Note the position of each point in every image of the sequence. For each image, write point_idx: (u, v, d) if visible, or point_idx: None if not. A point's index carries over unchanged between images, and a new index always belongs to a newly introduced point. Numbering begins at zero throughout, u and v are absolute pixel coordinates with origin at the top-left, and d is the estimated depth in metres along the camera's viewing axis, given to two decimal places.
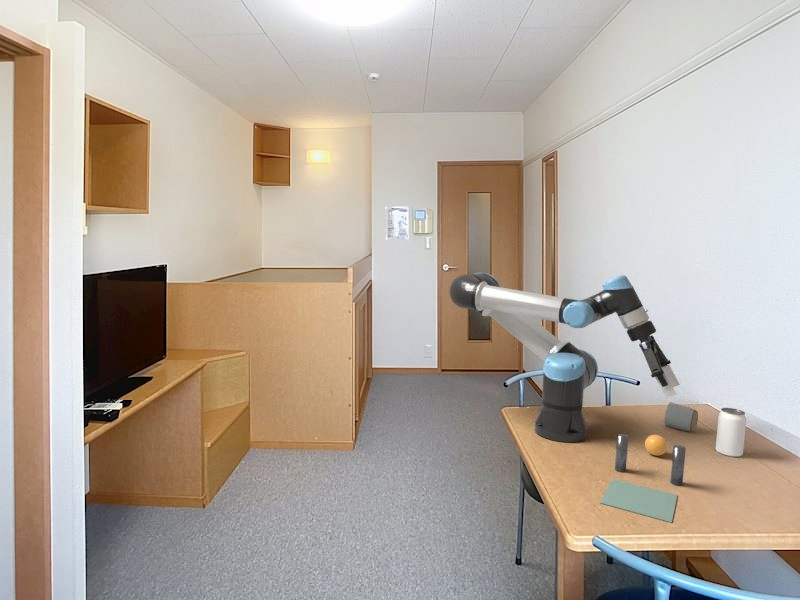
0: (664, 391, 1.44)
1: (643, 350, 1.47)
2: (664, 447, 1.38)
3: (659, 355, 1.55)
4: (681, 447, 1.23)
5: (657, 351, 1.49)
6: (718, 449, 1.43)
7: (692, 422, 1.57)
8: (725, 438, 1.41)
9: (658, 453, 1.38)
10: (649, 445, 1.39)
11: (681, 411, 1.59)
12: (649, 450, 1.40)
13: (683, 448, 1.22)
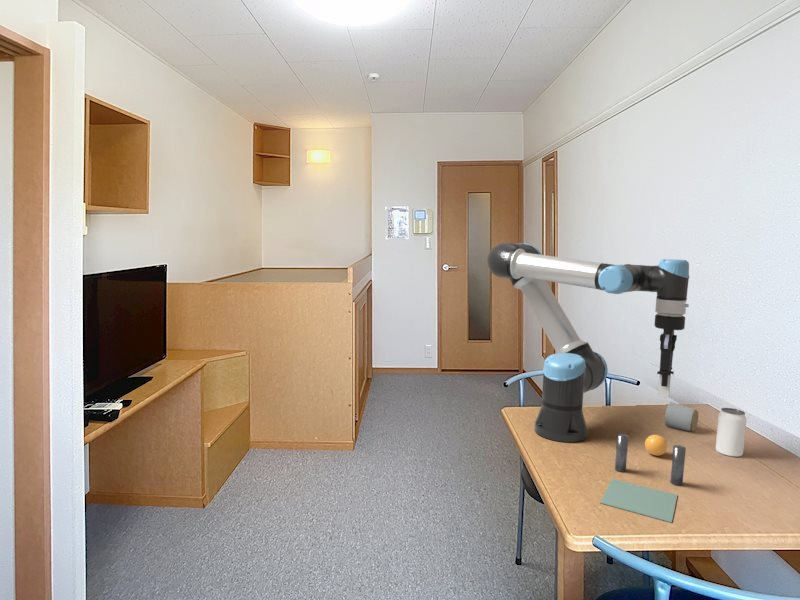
0: (659, 389, 1.47)
1: (662, 349, 1.41)
2: (664, 447, 1.38)
3: None
4: (681, 447, 1.23)
5: (674, 348, 1.44)
6: (718, 449, 1.43)
7: (692, 422, 1.57)
8: (725, 438, 1.41)
9: (658, 453, 1.38)
10: (649, 445, 1.39)
11: (681, 411, 1.59)
12: (649, 450, 1.40)
13: (683, 448, 1.22)
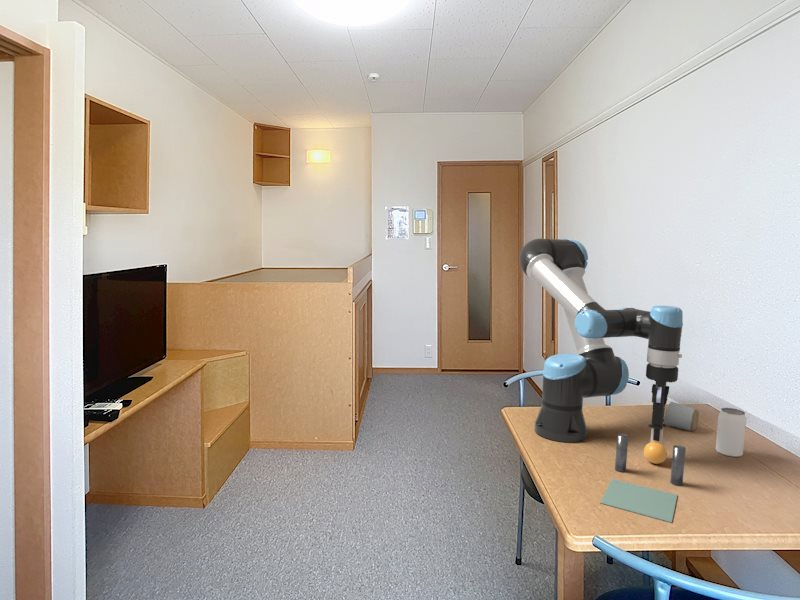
0: None
1: (654, 402, 1.33)
2: (663, 461, 1.34)
3: None
4: (681, 447, 1.23)
5: (666, 400, 1.36)
6: (718, 449, 1.43)
7: (693, 421, 1.57)
8: (725, 438, 1.41)
9: None
10: None
11: (682, 410, 1.60)
12: None
13: (683, 448, 1.22)
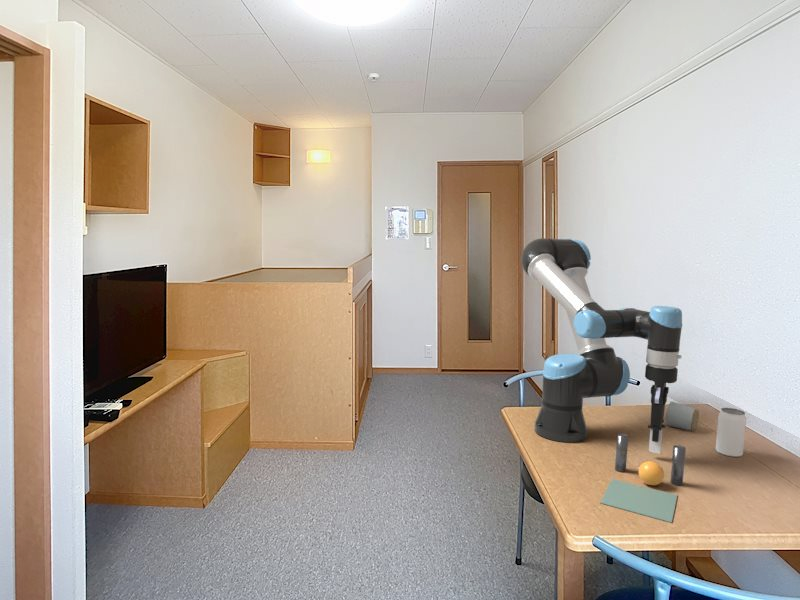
0: (650, 444, 1.38)
1: (653, 403, 1.32)
2: (660, 480, 1.20)
3: None
4: (681, 447, 1.23)
5: (665, 401, 1.35)
6: (718, 449, 1.43)
7: (693, 421, 1.58)
8: (725, 438, 1.41)
9: (653, 485, 1.22)
10: (642, 477, 1.22)
11: (682, 410, 1.60)
12: (643, 481, 1.23)
13: (683, 448, 1.22)
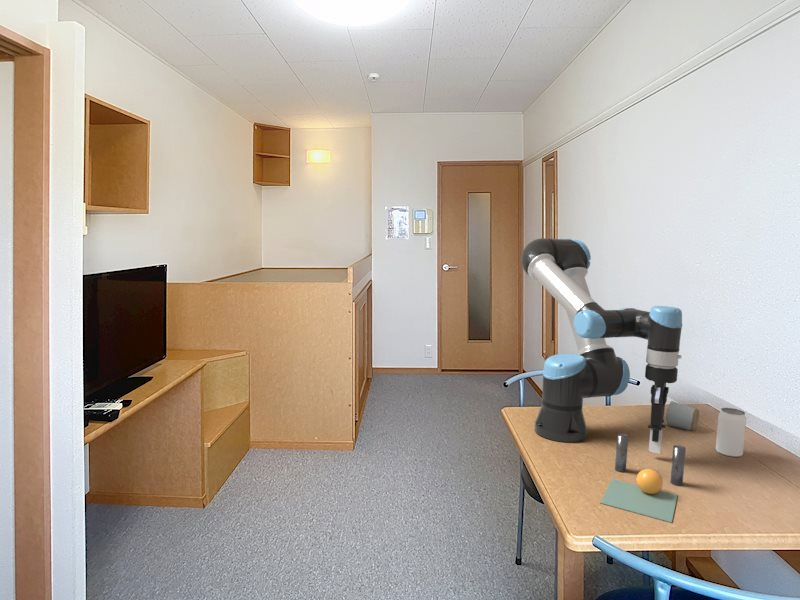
0: (650, 444, 1.38)
1: (653, 403, 1.32)
2: None
3: None
4: (681, 447, 1.23)
5: (665, 401, 1.35)
6: (718, 449, 1.43)
7: (693, 421, 1.58)
8: (725, 438, 1.41)
9: None
10: None
11: (682, 410, 1.60)
12: None
13: (683, 448, 1.22)
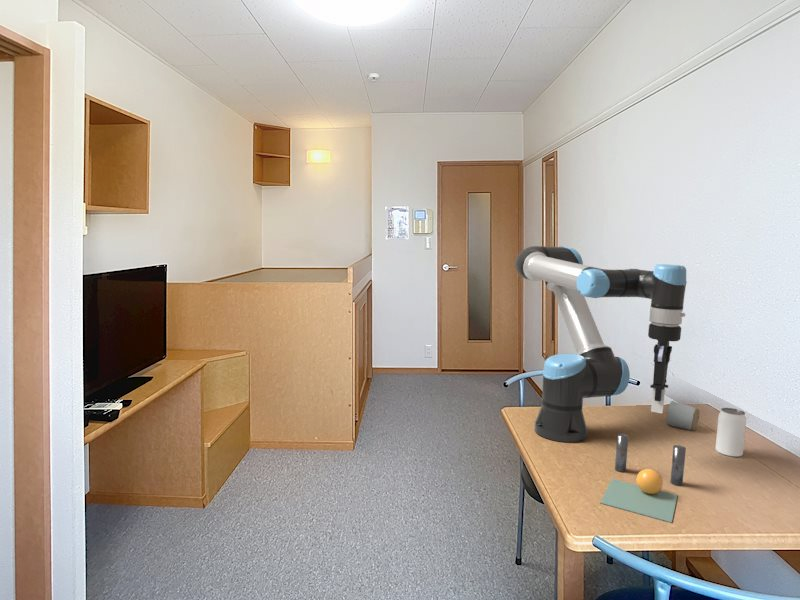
0: (652, 404, 1.37)
1: (656, 361, 1.31)
2: None
3: None
4: (681, 447, 1.23)
5: (668, 360, 1.34)
6: (718, 449, 1.43)
7: (693, 420, 1.58)
8: (725, 438, 1.41)
9: None
10: None
11: (683, 409, 1.60)
12: None
13: (683, 448, 1.22)
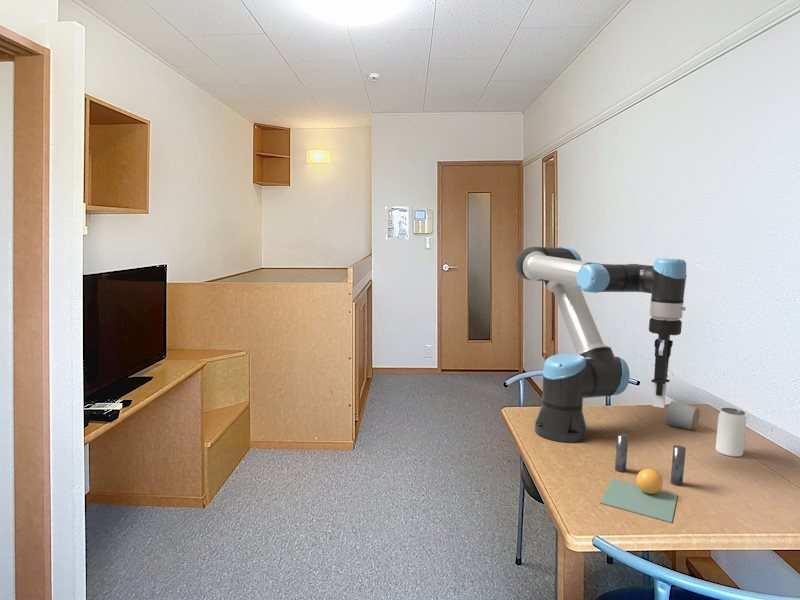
0: (654, 399, 1.36)
1: (657, 355, 1.31)
2: None
3: None
4: (681, 447, 1.23)
5: (669, 354, 1.34)
6: (718, 449, 1.43)
7: (694, 420, 1.58)
8: (725, 438, 1.41)
9: None
10: None
11: (683, 409, 1.61)
12: None
13: (683, 448, 1.22)
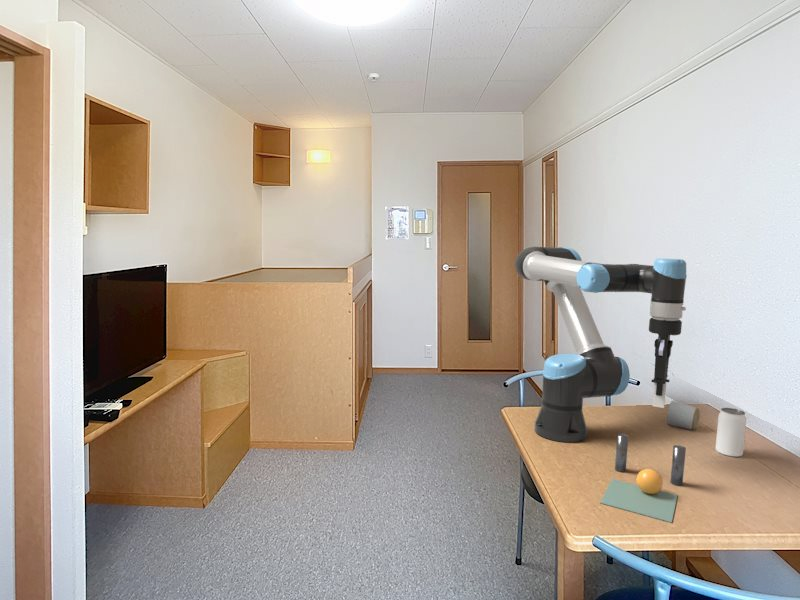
0: (654, 399, 1.36)
1: (657, 355, 1.31)
2: None
3: None
4: (681, 447, 1.23)
5: (669, 354, 1.34)
6: (718, 449, 1.43)
7: (694, 420, 1.58)
8: (725, 438, 1.41)
9: None
10: None
11: (683, 409, 1.61)
12: None
13: (683, 448, 1.22)
